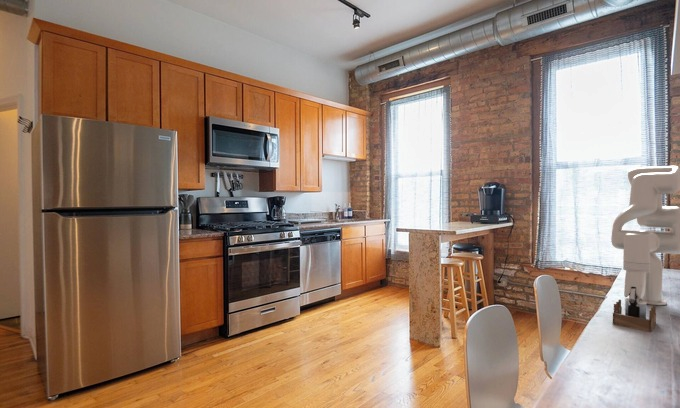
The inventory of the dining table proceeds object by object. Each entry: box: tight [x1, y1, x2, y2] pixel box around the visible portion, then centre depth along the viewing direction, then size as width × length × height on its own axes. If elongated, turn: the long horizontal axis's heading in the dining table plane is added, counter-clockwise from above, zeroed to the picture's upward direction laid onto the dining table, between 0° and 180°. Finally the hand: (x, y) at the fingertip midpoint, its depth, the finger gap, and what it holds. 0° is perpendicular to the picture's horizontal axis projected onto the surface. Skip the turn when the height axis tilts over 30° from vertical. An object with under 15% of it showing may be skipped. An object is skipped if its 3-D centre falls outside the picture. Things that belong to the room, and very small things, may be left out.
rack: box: [612, 299, 657, 333], centre depth 129 cm, size 12×11×7 cm
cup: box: [624, 297, 648, 319], centre depth 131 cm, size 6×6×7 cm
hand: (635, 314), depth 131 cm, fingers open, 6 cm apart
